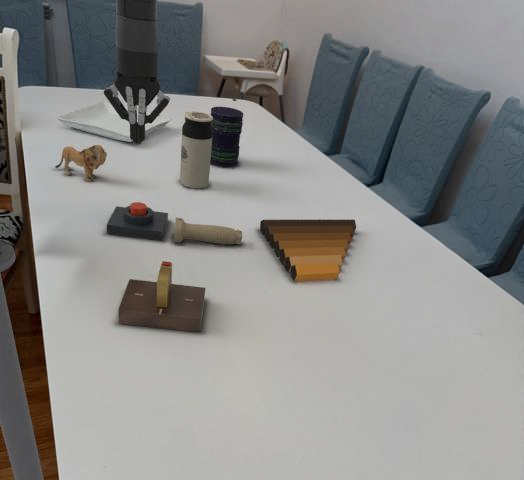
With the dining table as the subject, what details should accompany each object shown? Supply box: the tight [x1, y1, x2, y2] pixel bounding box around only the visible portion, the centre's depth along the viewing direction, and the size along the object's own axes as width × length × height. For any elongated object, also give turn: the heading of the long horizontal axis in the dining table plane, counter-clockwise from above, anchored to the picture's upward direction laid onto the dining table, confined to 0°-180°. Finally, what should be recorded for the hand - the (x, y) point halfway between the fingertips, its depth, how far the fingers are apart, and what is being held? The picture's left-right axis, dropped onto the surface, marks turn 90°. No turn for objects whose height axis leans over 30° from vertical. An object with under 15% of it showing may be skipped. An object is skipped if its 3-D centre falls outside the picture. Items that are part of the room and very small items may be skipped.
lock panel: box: [117, 278, 206, 333], centre depth 89 cm, size 14×10×3 cm
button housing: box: [106, 205, 169, 241], centre depth 113 cm, size 12×10×4 cm
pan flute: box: [259, 219, 357, 282], centre depth 117 cm, size 25×3×25 cm
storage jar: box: [210, 98, 244, 169], centre depth 151 cm, size 10×10×18 cm
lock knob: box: [156, 260, 173, 308], centre depth 86 cm, size 6×2×6 cm, turn 1°
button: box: [129, 201, 148, 215], centre depth 111 cm, size 4×4×2 cm
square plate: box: [56, 101, 173, 143], centre depth 165 cm, size 27×27×4 cm
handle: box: [173, 216, 243, 245], centre depth 112 cm, size 5×6×15 cm
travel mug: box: [179, 110, 213, 189], centre depth 133 cm, size 8×8×18 cm
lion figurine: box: [54, 144, 108, 182], centre depth 129 cm, size 15×5×9 cm, turn 77°
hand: (137, 142), depth 102 cm, fingers closed
